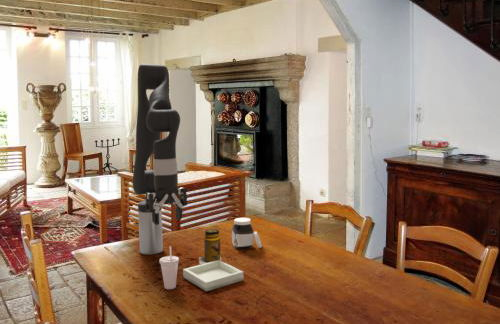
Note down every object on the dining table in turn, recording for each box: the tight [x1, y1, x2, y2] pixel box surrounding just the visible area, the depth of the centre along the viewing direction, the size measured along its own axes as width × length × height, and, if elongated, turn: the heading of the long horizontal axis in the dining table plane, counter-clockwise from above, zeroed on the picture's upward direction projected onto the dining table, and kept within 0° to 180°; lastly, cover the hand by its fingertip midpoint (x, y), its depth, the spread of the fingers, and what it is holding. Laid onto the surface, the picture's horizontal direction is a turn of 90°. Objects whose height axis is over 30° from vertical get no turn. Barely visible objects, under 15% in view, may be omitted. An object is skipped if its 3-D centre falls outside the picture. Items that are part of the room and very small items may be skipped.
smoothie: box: [159, 245, 180, 290], centre depth 156 cm, size 6×6×14 cm
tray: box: [182, 259, 244, 292], centre depth 163 cm, size 15×15×3 cm
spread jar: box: [231, 217, 263, 250], centre depth 197 cm, size 12×11×12 cm
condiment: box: [198, 228, 222, 265], centre depth 181 cm, size 7×8×12 cm
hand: (167, 221), depth 154 cm, fingers open, 8 cm apart
